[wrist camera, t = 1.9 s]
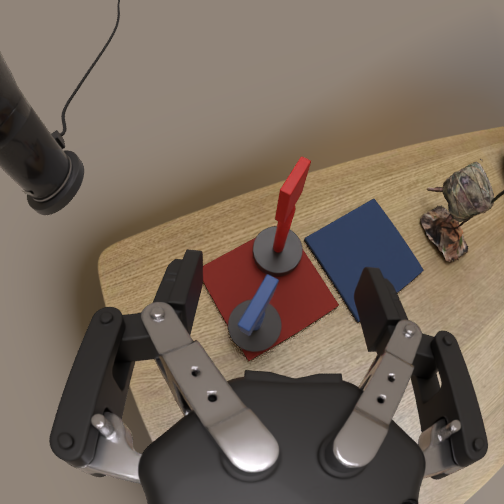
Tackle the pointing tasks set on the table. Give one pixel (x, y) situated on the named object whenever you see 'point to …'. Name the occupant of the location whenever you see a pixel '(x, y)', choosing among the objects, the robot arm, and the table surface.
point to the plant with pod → (458, 209)
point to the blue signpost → (256, 319)
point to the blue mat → (363, 251)
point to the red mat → (285, 296)
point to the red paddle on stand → (282, 229)
